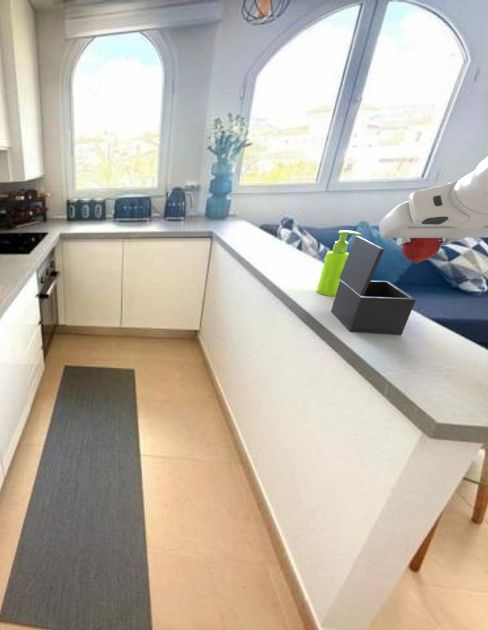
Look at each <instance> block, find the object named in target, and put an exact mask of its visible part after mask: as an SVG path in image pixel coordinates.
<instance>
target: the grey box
mask: <svg viewBox="0 0 488 630" xmlns="http://www.w3.org/2000/svg"><path fill="white" fill-rule="evenodd" d="M333 299H334V300H333V302H332V307H331V309H330V311H331V313H332V314H333V315H334V317H335V318H336V319H337V320H338V321H339V322H340V323H341V324H342V325H343V326H344V327H345V328H346V329H347V331H348V332H350V333H363V334H365V333H366V334H378V335H379V334H380V335H395V334H400V336H402V335H403V333H404V330H405V328H406V325H407V323H408V320H409V318H410V315H411V313H412V310H413V308H414V306H415V303H416V301H417V299H416V298H414V296H412V295H410V294H409V293H407V292H405V291H404V290H402V289H401V288H399V287H398V286H396V285H394V284H393V283H392V282H391V281H389V280H370V283H369V285H368V287H367V289H366V292H365V294H364V296H360V295H359V294H358V293H356V292H355V291H354V290H353V289H352V288H350V287H349V286H348V285H347V284H346V283H344V282H343V281H342V280H340V282H339V286H338V289H337V293H336V296H334V298H333Z"/></svg>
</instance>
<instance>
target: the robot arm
mask: <svg viewBox="0 0 488 630" xmlns="http://www.w3.org/2000/svg"><path fill="white" fill-rule="evenodd" d="M378 228H379V234H380V236H381V237H382V238H383V239H396V245H397V246H401V247H402V246H403V245H407V244H409V243H410V242H411V240H410V239H409V238H438V239H439V241H440V246H444V247H445V246H448V245H449V244H451V243H453V242H457V241H460V240H464V239H467V238H469V239H470V238H471V239H472V238H488V156H487V157H486V158H485V159H483V160H482V161H481V162H479V164H478V165H477V167H476V169H475V170H474V171H472V172H470V173H469V174H467V175H465V176H464V177H462V178H461V179H459V180H455V181H452V182H449V183H445V184H442V185H438V186H433V187H428V188H422V189H418V190H414V191H413V192H412V193H410V195H408V201H405V202H402V203H400V204H398V205H397V206H395V207H394V208H393V209H392V210H391V211H390V212H388V213H387V214H386V215H385V216H384V217H383V218H382V219H381V220H380V222H379V224H378Z"/></svg>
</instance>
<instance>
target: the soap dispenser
mask: <svg viewBox="0 0 488 630" xmlns="http://www.w3.org/2000/svg"><path fill="white" fill-rule="evenodd" d="M337 234H338V235H339V238H338V240H335V241H334V244H333V247H332V250H329V251H327V252H326V253H325V259H324V262H323V265H322V270H321V274H320V277H319V281H318V284H317V288H316V292H317V293H318V294H319V295H323V296H329V297H335V296H336V293H337V289H338V286H339V282H340V280H341V279H340V278H339V277H340V275H341V272H342V270H343V267H344V265H345V262H346V260H347V257H348V255H349V252H347V250H348V246H349V241H347V238H348V235H351V236H355V237H356V236H361V235H362V233H361V232H358V231H354V230H339V231H337Z"/></svg>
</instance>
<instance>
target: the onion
mask: <svg viewBox="0 0 488 630" xmlns="http://www.w3.org/2000/svg"><path fill="white" fill-rule="evenodd" d="M409 239H410V240H411V242H410V243H409V244H407V245H403V246H401V253H402V255H403V256H404V257H405V258H406V259H407V260H409V261H410V262H412V263H413V264H419V263H421V262H424V261H426V260H428V259H431V258H432V257H434V256H436V255H437V254H438V253H439V251H440V250H441V245H440V241H439V239H438V238H409Z"/></svg>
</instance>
